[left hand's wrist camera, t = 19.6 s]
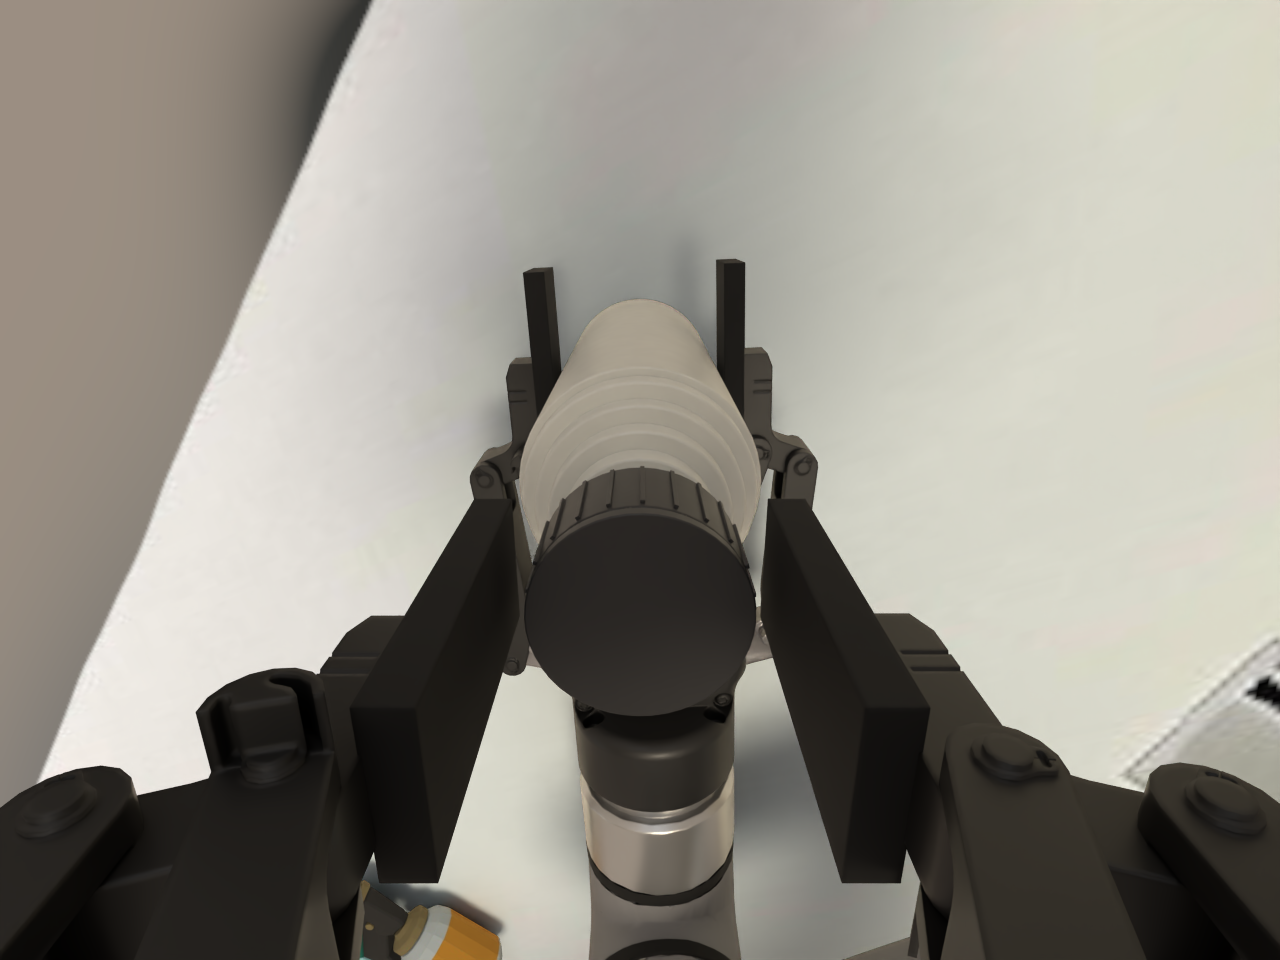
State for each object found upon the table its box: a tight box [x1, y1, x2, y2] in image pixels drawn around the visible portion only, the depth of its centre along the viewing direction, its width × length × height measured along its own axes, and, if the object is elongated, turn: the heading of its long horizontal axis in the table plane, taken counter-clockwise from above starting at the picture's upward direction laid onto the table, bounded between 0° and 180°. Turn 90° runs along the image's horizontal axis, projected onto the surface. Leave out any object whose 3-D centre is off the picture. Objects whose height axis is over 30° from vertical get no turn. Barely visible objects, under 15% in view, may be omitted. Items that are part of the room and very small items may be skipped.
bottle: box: [519, 299, 761, 544], centre depth 24 cm, size 6×6×23 cm
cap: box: [524, 466, 756, 716], centre depth 14 cm, size 4×4×2 cm
